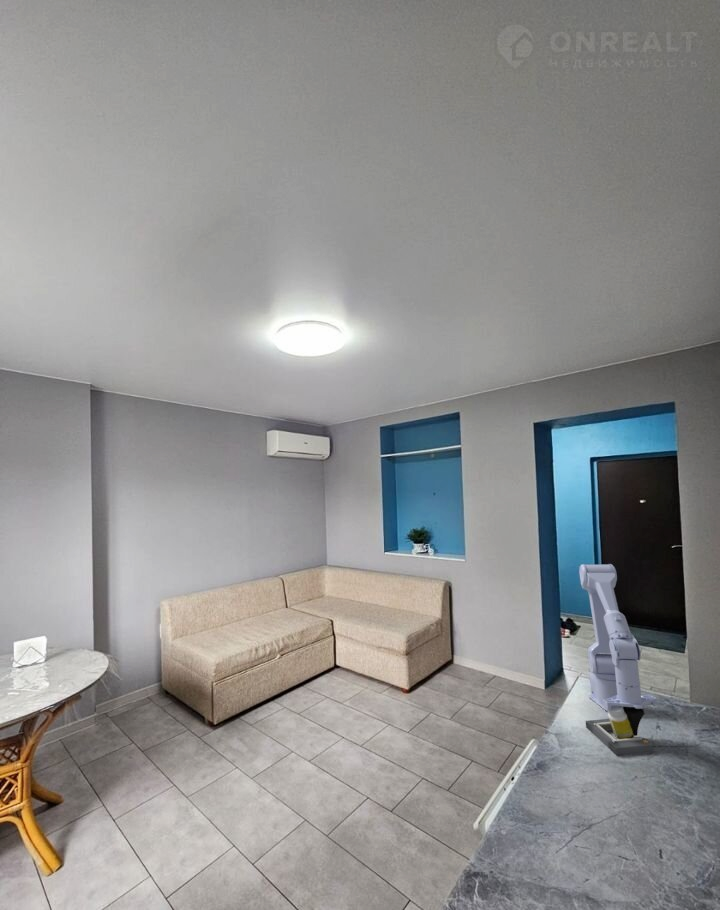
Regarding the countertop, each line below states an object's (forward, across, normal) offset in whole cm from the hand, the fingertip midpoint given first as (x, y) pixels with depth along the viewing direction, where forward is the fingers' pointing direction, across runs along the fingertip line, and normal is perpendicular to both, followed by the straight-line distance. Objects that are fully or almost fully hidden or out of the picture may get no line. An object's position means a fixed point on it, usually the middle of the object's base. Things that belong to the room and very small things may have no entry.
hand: (633, 733), depth 115 cm
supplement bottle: (+1, -2, 0) cm, 3 cm away
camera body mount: (+1, -5, 0) cm, 5 cm away
